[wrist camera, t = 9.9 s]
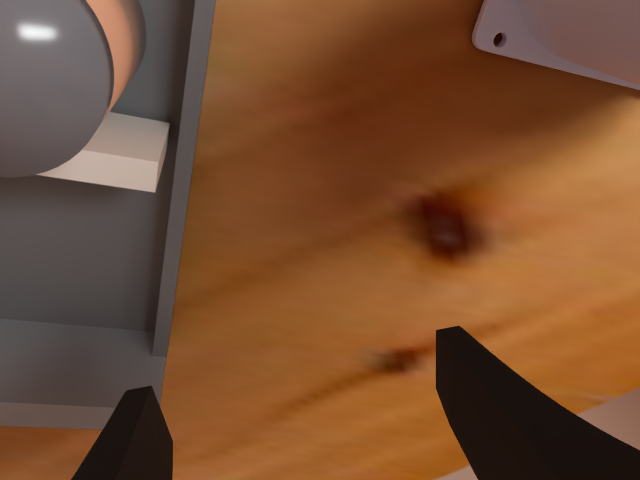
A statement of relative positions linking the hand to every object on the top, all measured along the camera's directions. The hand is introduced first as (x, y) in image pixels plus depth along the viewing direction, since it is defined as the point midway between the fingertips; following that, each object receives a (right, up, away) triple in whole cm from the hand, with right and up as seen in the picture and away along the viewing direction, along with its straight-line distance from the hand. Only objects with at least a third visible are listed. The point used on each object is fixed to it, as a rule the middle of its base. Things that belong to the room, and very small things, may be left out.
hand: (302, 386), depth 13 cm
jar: (-8, +11, +4) cm, 14 cm away
